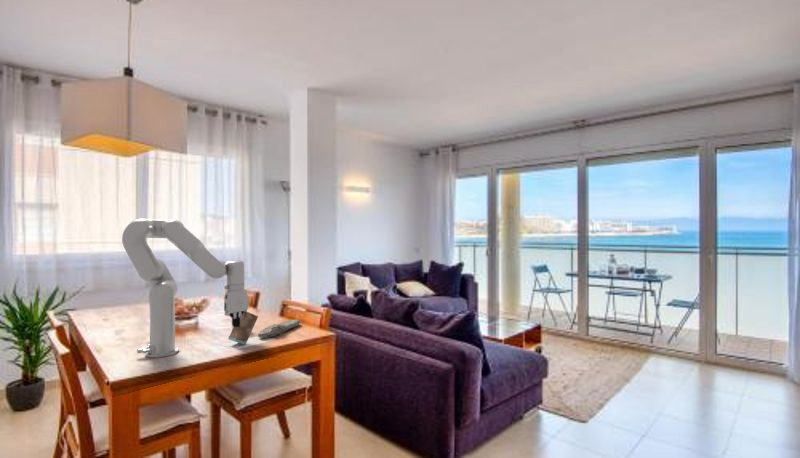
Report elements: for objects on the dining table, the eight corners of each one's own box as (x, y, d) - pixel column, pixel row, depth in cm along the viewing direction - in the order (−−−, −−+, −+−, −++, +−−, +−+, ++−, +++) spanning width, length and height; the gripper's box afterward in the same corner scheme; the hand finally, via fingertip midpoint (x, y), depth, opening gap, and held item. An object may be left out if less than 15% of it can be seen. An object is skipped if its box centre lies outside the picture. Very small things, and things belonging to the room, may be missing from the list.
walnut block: (234, 341, 187) (248, 312, 192) (227, 339, 191) (241, 310, 196) (245, 345, 191) (258, 316, 197) (238, 342, 195) (251, 314, 200)
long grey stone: (305, 327, 232) (289, 326, 235) (304, 317, 233) (289, 317, 235) (270, 339, 199) (252, 338, 201) (270, 328, 199) (252, 327, 202)
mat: (234, 350, 184) (234, 349, 184) (221, 345, 191) (221, 344, 191) (276, 340, 201) (276, 339, 201) (262, 335, 209) (262, 335, 209)
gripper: (224, 290, 182) (224, 331, 182) (254, 286, 194) (255, 324, 194) (216, 288, 187) (216, 328, 187) (246, 284, 199) (246, 322, 199)
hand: (236, 326), depth 191 cm, fingers closed
